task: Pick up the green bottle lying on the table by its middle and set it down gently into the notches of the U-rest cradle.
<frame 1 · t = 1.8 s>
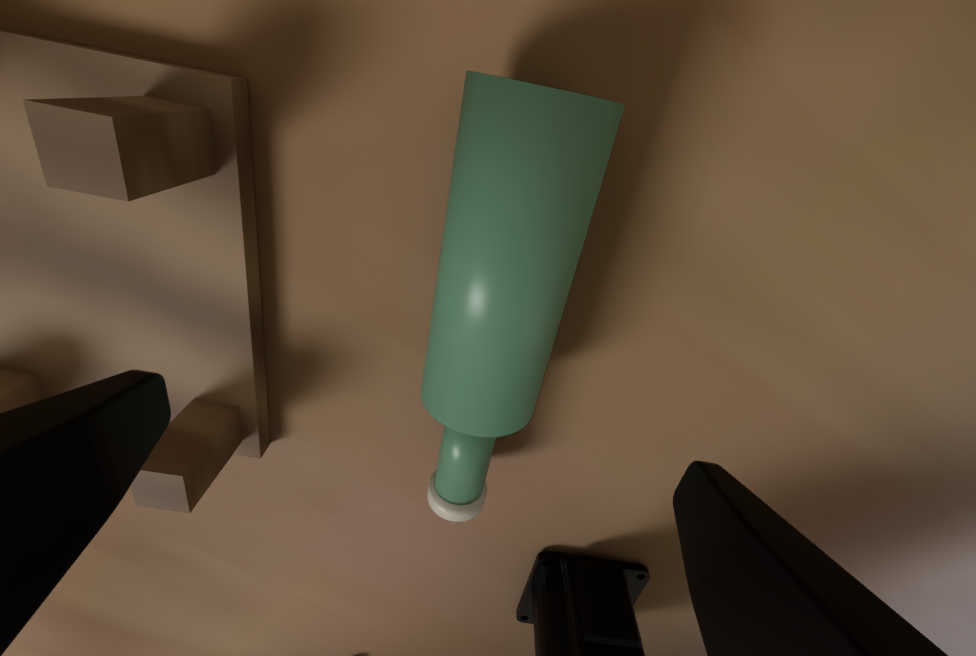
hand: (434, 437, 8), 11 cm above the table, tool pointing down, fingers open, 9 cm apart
bottle: (470, 244, 17), on the table, tilted 36°
cradle: (108, 272, 18), on the table
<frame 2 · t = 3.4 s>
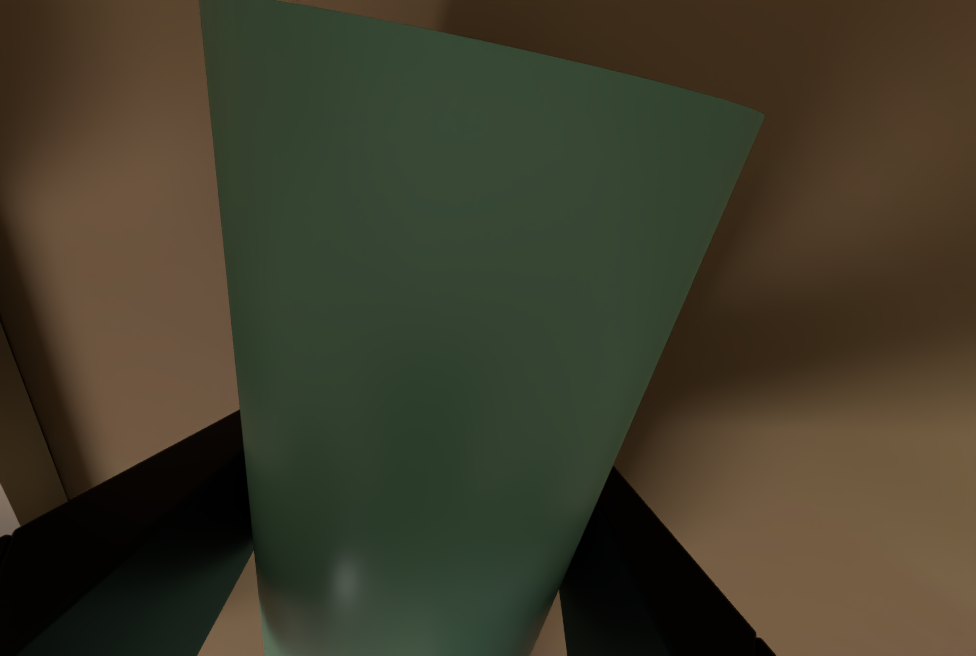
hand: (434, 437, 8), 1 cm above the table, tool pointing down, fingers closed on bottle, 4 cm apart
bottle: (428, 394, 9), on the table, tilted 7°, touching gripper
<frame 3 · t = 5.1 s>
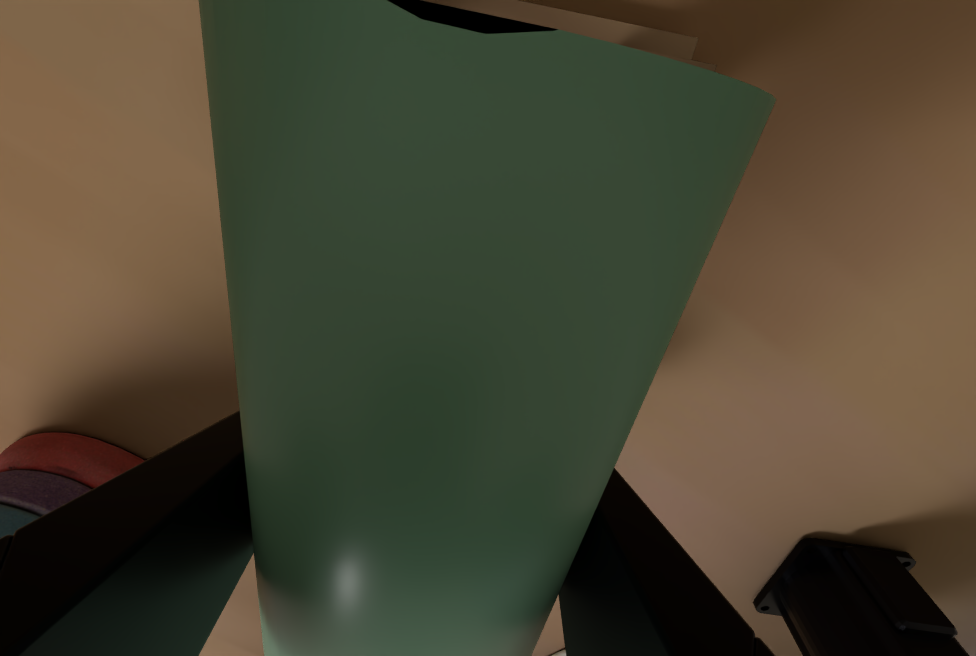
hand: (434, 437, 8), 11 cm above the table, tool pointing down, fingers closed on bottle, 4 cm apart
bottle: (429, 391, 8), point 10 cm above the table, tilted 7°, touching gripper
cradle: (462, 247, 18), on the table
stacking bear: (102, 493, 25), on the table
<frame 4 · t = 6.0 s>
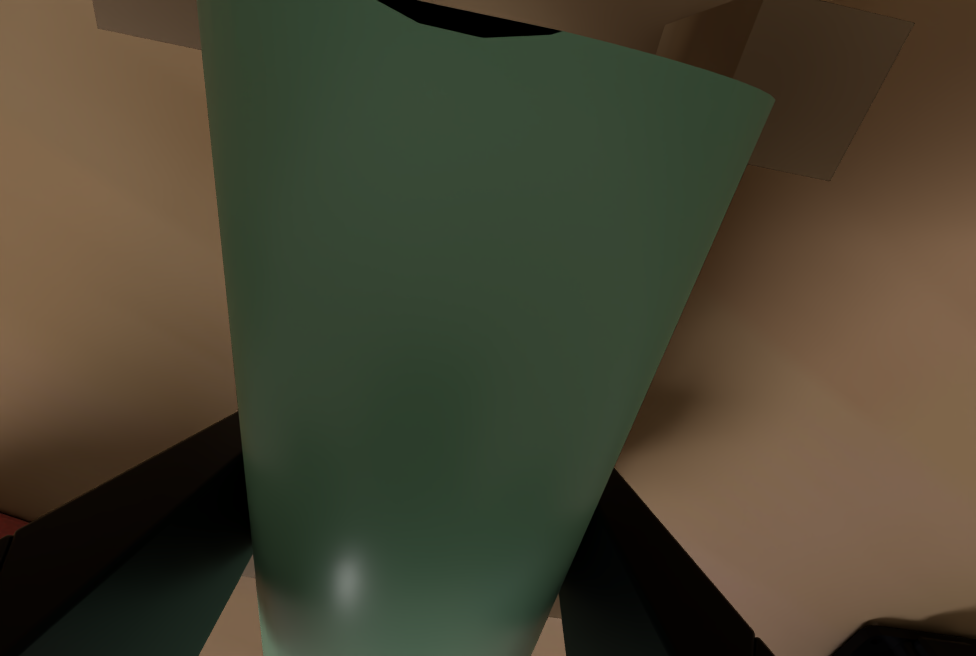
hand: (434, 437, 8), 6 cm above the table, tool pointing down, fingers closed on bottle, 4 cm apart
bottle: (429, 391, 8), point 5 cm above the table, tilted 6°, touching gripper
cradle: (458, 287, 13), on the table
stacking bear: (13, 569, 21), on the table
when the fingers open (3 cm above the table, at t = 6.9 s): bottle drops 1 cm, resting on cradle.
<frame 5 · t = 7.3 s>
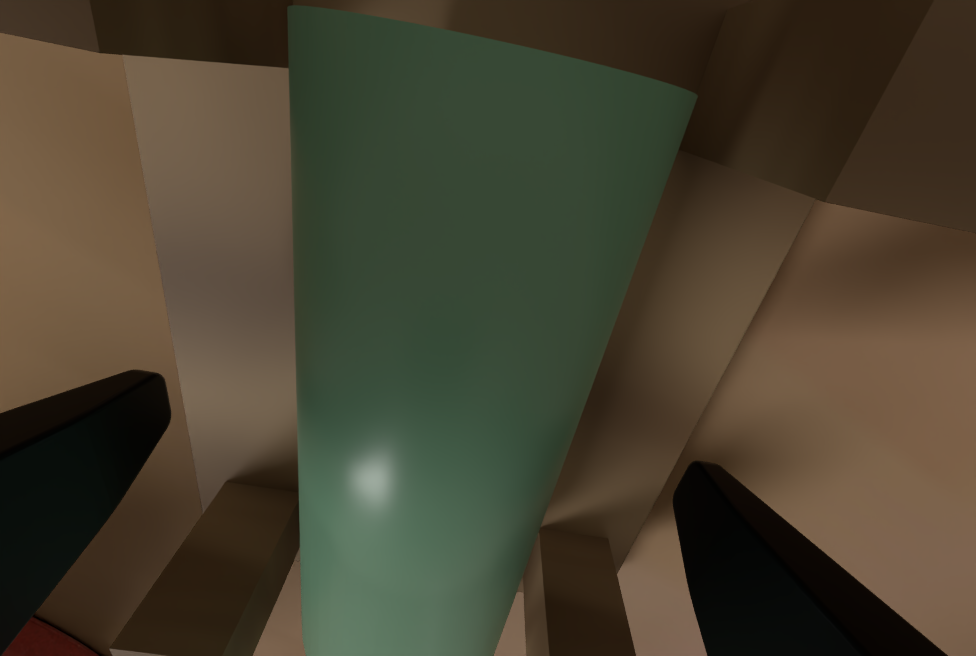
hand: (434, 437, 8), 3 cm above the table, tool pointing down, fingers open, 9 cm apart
bottle: (440, 350, 10), point 1 cm above the table, tilted 6°, touching cradle
cradle: (452, 336, 11), on the table
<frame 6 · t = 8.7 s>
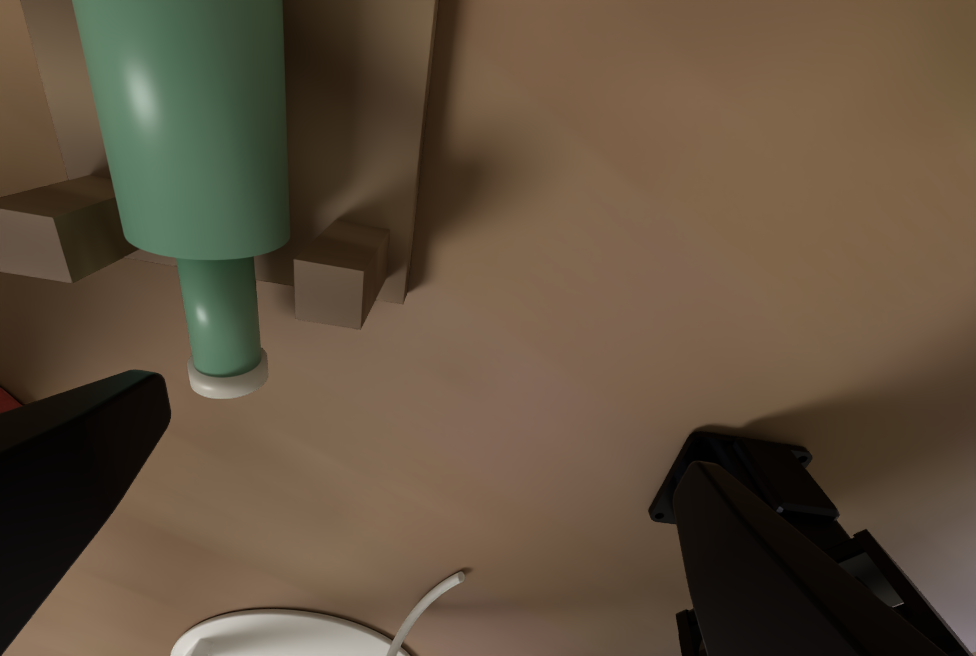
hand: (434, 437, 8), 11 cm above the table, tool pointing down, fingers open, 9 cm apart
bottle: (223, 33, 14), point 1 cm above the table, tilted 7°, touching cradle
cradle: (246, 42, 15), on the table
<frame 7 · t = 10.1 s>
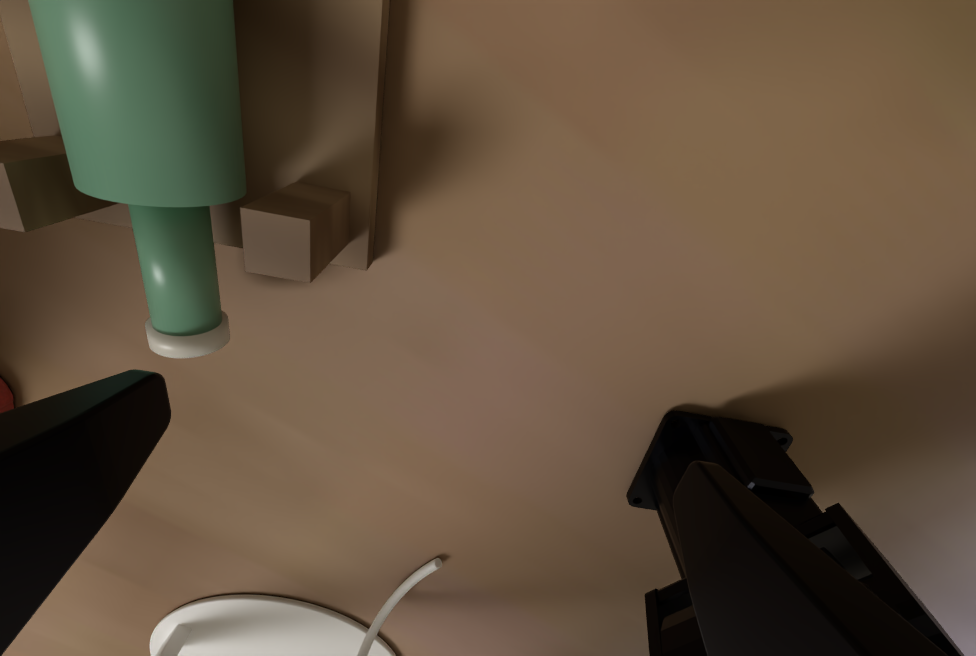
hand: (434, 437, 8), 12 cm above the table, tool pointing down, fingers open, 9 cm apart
cradle: (205, 2, 15), on the table
desk lamp: (300, 647, 34), on the table
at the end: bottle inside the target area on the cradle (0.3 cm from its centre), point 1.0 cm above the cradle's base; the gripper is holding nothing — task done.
